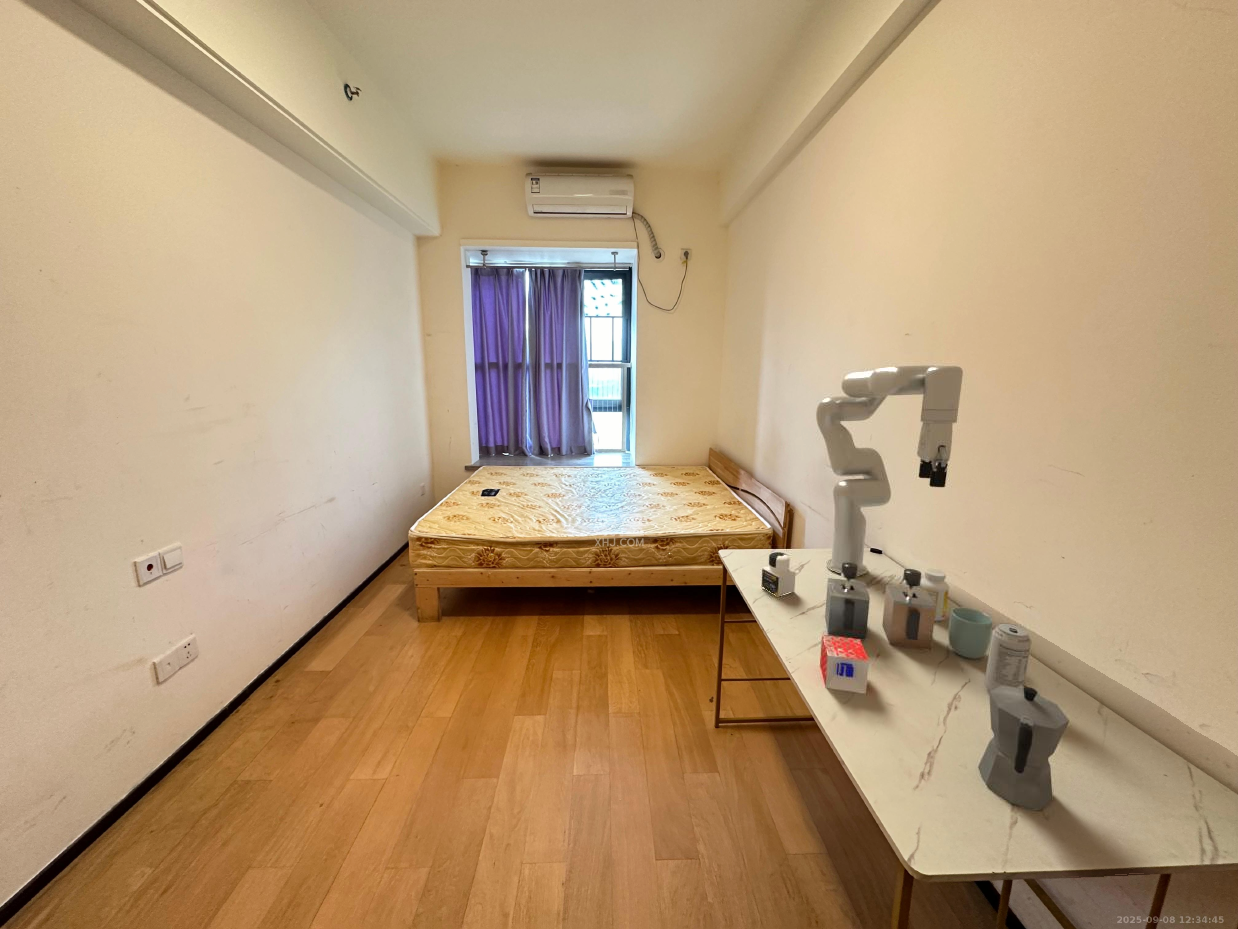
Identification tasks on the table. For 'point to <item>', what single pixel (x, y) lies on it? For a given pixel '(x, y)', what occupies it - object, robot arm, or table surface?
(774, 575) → the medicine bottle
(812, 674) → the table surface
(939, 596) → the supplement bottle
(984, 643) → the cup
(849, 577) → the plunger
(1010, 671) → the energy drink can
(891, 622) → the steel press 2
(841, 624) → the grey joystick box
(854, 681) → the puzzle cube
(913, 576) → the plunger
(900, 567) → the table surface
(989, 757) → the coffeepot
